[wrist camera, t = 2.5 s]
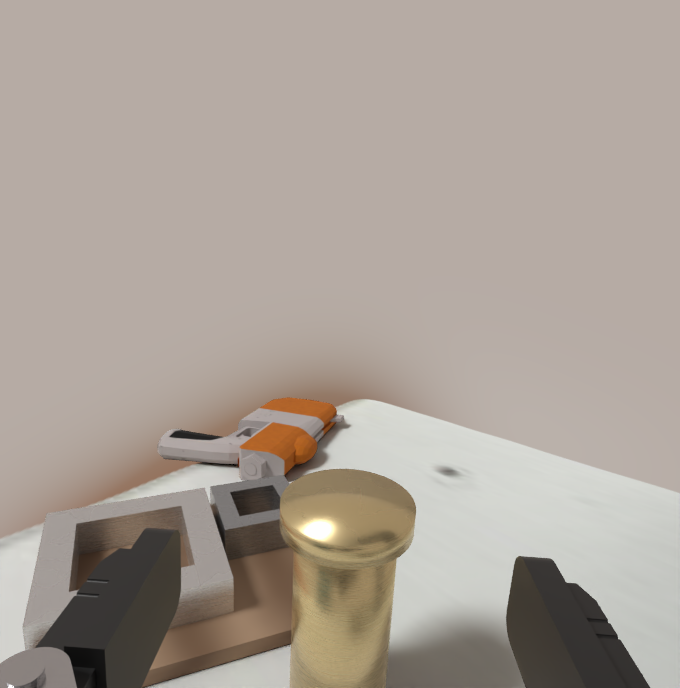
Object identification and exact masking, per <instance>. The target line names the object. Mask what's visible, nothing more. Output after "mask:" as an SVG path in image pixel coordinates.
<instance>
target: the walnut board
mask: <svg viewBox="0 0 680 688" xmlns="http://www.w3.org/2000/svg"><path fill="white" fill-rule="evenodd" d="M210 506H211V504H210ZM180 539H181V568H182V567H186V566H189V564H188V559H187V554H186V550H185V545H184V540H183V535H180ZM133 545H134V544H133ZM133 545H128V546H123V547H118V548H112V549H107V550H102V551H97V552H92V553H87V554H81V555H79V562H78V573H77V583H76V590H79V589H80V588H81V586H82V585H83V584H84V582H87V578H88V577H89V576H90V574H91V573H92V572H93V570H94V569H95V568H96V566H97V565H98V564H99V562H100V561H102V560H103V559H105V558H106V557H108V556H109V555H110V554H112V553H113V552H115V551H116V550H118V549H119V548H125V549H131V548H132V546H133ZM293 558H294V551H293V550H292V549H291V548H290V547H287V548H283V549H278V550H274V551H269V552H265V553H260V554H256V555H251V556H246V557H242V558H237V559H233V560H228V563H229V566H230V569H231V572H232V575H233V585H234V613H230V614H226V615H223V616H219V617H215V618H211V619H207V620H203V621H199V622H196V623H192V624H188V625H184V626H180V627H176V628H172V629H169V630H168V631H167V633H166V635H165V637H164V640H163V642H162V644H161V646H160V648H159V650H158V653H157V655H156V657H155V659H154V661H153V663H152V666H151V668H150V670H149V672H148V674H147V676H146V679H145V681H144V683H143V685H142V687H146V686H149V685H152V684H156V683H159V682H163V681H166V680H169V679H173V678H176V677H179V676H183V675H186V674H190V673H193V672H196V671H200V670H203V669H206V668H210V667H213V666H217V665H220V664H223V663H227V662H230V661H233V660H237V659H240V658H244V657H247V656H250V655H254V654H257V653H260V652H264V651H267V650H271V649H274V648H277V647H281V646H284V645H287V644H291V625H292V592H293ZM142 687H141V688H142Z"/></svg>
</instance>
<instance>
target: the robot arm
mask: <svg viewBox="0 0 680 688" xmlns="http://www.w3.org/2000/svg"><path fill="white" fill-rule="evenodd" d="M180 593H181V539H180V532H179V530H173V529H160V528H146V529H144V531H143V532H142V533H141V535H140V536H139V538H138V539H137V541H136V542H135V544H134V545H133V546H132V548H131V549H125V548H119V549H118V550H116V551H115V552H113V553H112V554H110V555H109V556H108V557H106V558H105V559H103V560H102V561H100V562H99V564H98V565H97V566H96V568H95V569H94V570H93V572H92V573H91V574H90V576H89V577H88V578H87V582H84V584H83V585H82V586H81V588H80V589H79V590H78V592H77V595H76V596H74V597H73V598H72V600H71V601H70V602H69V604H68V605H67V606H66V608H65V609H64V610H63V611H62V613H61V614H60V615H59V617H58V618H57V619H56V621H55V622H54V623H53V625H52V626H51V627H50V629H49V630H48V631H47V633H46V634H45V635H44V637H43V638H42V639H41V641H40V642H39V643H38V645H37V646H36V647H35V648H33V649H29V650H26V651H23V652H20V653H18V654H16V655H14V656H12V657H10V658H8V659H6V660H5V661H3V662H2V663H0V688H141V687H142V685H143V683H144V681H145V679H146V676H147V674H148V672H149V670H150V668H151V666H152V663H153V661H154V659H155V657H156V655H157V653H158V650H159V648H160V646H161V644H162V642H163V640H164V637H165V635H166V633H167V631H168V629H169V627H170V625H171V622H172V620H173V618H174V616H175V613H176V611H177V607H178V604H179V599H180ZM506 622H507V633H508V638H509V641H510V644H511V647H512V650H513V653H514V656H515V658H516V661H517V664H518V667H519V670H520V672H521V675H522V678H523V681H524V683H525V686H526V688H650V687H649V685H648V683H647V682H646V680H645V679H644V677H643V675H642V674H641V672H640V671H639V669H638V667H637V666H636V664H635V663H634V661H633V659H632V658H631V656H630V655H629V653H628V651H627V650H626V648H625V647H624V645H623V643H622V642H621V640H618V635H617V634H616V632H615V631H614V629H613V627H612V626H611V624H610V623H608V619H607V618H606V616H605V614H604V613H603V611H602V610H601V608H600V606H599V605H598V603H597V602H596V600H595V599H593V598H592V597H591V596H590V595H589V594H588V593H587V592H585V591H584V590H583V589H582V588H581V587H580V586H579V585H578V584H575V583H566V582H565V580H564V578H563V576H562V575H561V573H560V571H559V569H558V568H557V566H556V564H555V563H554V561H553V560H552V559H549V558H535V557H522V556H518V557H517V558H516V561H515V564H514V570H513V576H512V582H511V588H510V595H509V601H508V607H507V615H506Z"/></svg>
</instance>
